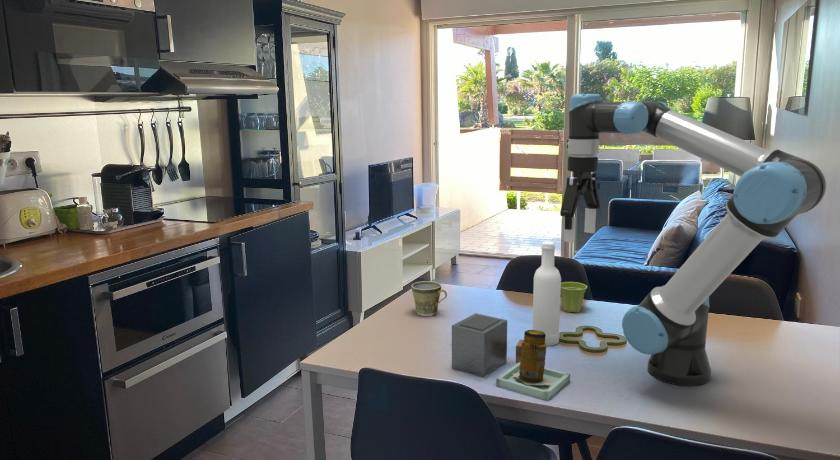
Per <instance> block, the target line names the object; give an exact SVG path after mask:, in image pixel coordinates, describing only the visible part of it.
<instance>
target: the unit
mask: <svg viewBox="0 0 840 460" xmlns="http://www.w3.org/2000/svg"><path fill="white" fill-rule="evenodd" d="M507 350H508V319H503V318H499V317H495V316H491V315H484V314H481V313H474V314H472V315H470V316H467V317H466V318H464V319H462V320H460V321H458V322H456V323H455V324H452V325H451V369H453V370H457V371H460V372H464V373H467V374H471V375H474V376H477V377H482V378H486V377H487V376H488V375H490V374H492V373H493V372H494V371H496V370H497V369H498V368H500V367H502V366H503V365H504V364H506V363H507V362H508V361H507V358H508V357H507V355H508V351H507Z"/></svg>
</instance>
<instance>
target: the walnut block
mask: <svg viewBox="0 0 840 460" xmlns="http://www.w3.org/2000/svg"><path fill="white" fill-rule="evenodd" d="M523 341H524V339H519V340H518V341H517V343H516V345H515V364H517V363H519V362H520V360H521V350H522V342H523Z"/></svg>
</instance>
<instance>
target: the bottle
mask: <svg viewBox="0 0 840 460" xmlns="http://www.w3.org/2000/svg"><path fill="white" fill-rule="evenodd" d="M540 248H541V265H540V266H539V267H538V268H537V269H536V270H535V272H534V276H533V295H532V296H533V297H532V302H533V303H532V329H531V330H538V331H542V332H544V333H545V334H546V337H545V344H546V347H547V346H549V347H551V346H555V345H558V343H559V342H560V325H561V323H560V319H561V318H560V317H561V283H562V277H561V273H560V271H559V269H558V268H557V267H556V266H555V253H556V244H555V242H554V241H550V240H546V241H542V243H541V247H540Z"/></svg>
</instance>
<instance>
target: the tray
mask: <svg viewBox="0 0 840 460" xmlns="http://www.w3.org/2000/svg"><path fill="white" fill-rule="evenodd" d="M519 371H520V362H519V363H515V364H514V365H513V366H512V367H510V368H509V369H507V370H506V371H505V372H503V373H502V374H500V375H498V377H496V379H495V386H496V387H499V388H502V389H504V390H509V391H512V392H517V393H519V394H523V395H527V396H530V397H532V398H537V399H539V400H543V401H546V402H547V401H548V402H549V400H551V399H552V398H553V397H554V396H555V395H556V394H558V392H560V391H561V390H562V389H563V388H564V387H565V386H566V385H568V384H569V383H570V382H571V373H567V372H563V371H561V370H557V369H553V368H552V369H551V368H548V367H544V375H543V378H544V379H546V380H548V381H549V382H550V383H552V384H553V385H526V384H524V383H523V382H522V381H520V380H519V379H518V378H516V377H515V376H514V375H513V373H518V374H519Z"/></svg>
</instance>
